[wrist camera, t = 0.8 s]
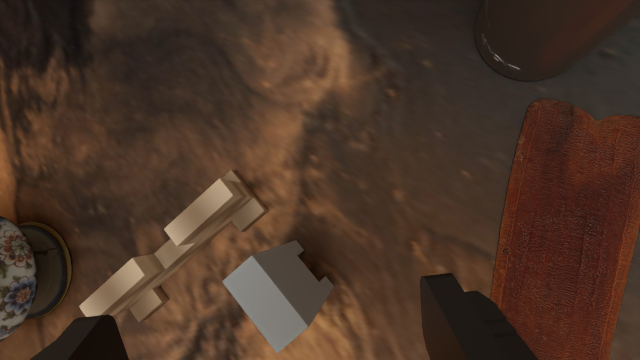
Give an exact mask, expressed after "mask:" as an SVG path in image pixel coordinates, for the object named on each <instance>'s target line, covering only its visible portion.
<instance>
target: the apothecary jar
mask: <svg viewBox="0 0 640 360" xmlns="http://www.w3.org/2000/svg"><path fill="white" fill-rule="evenodd" d="M71 274H72V265H71V257H70V253H69V250H68V248H67V245H66V243H65V242H64V240H63V239H62V237H61V236H60V235H59V234H58V233H57V232H56V231H55V230H53V229H52V228H51V227H49V226H47V225H45V224H42V223H37V222H26V223H22V224H19V225H16V224H14V223H13V222H11V221H10V220H8V219H6V218H4V217H1V216H0V342H1V341H3V340H4V339H6V338H7V337H8V336H9V335H11V334H12V333H13V332H14V331H15V330H16V329H17V328H18V327H19V326H20V325H21V324H22V322H23V321H24V319H36V318H40V317H43V316H45V315H47V314H49V313H50V312H51V311H53V310H54V309H55V308H56V307H57V306H58V305H59V304H60V303H61V301H62V300H63V298H64V296H65V295H66V293H67V290H68V288H69V284H70V281H71Z"/></svg>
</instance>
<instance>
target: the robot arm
mask: <svg viewBox="0 0 640 360" xmlns="http://www.w3.org/2000/svg"><path fill="white" fill-rule="evenodd" d="M639 14H640V0H485V1H484V3H483V5H482V7H481V9H480V12H479V14H478V16H477V20H476V24H475V40H476V44H477V48H478V50H479V52H480V54H481V56H482V58H483V59H484V60H485V61H486V62H487V64H488V65H489V66H490V67H492V68H493V69H494V70H495V71H497V72H498V73H500V74H502V75H504V76H506V77H508V78H512V79H516V80H520V81H537V80H544V79H547V78H550V77H553V76H556V75H558V74H559V73H561V72H563V71H565V70H566V69H568V68H569V67H570V66H572V65H573V64H574V63H576V62H577V61H578V60H579V59H581V58H582V57H583V56H585V55H586V54H587V53H589V52H590V51H592V50H593V49H594V48H595V47H597V46H598V45H599V44H601V43H602V42H603V41H605V40H606V39H607V38H609V37H610V36H611V35H612V34H614V33H615V32H616V31H618V30H619V29H620V28H622V27H623V26H624V25H626V24H627V23H628V22H630V21H631V20H632V19H633V18H635V17H636V16H637V15H639ZM420 289H421V311H422V329H423V336H424V341H425V345H426V348H427V351H428V354H429V357H430V359H431V360H538V358H537V357H536V356H535V355H534V353H533V352H532V351H531V349H530V348H529V347H528V345H527V344H526V343H525V341H524V340H523V339H522V337H521V336H520V335H518V334H517V331H516V330H515V328H514V327H513V326H512V324H511V323H510V322H509V321H507V318H506V316H505V315H504V314H503V312H502V311H501V310H500V309H499V307H498V306H497V305H496V303H495V302H493V301H492V300H490V299H489V298H487V297H486V296H484V295H483V294H481V293H480V292H478V291H470V292H464V291H463V289H462V288H461V286H460V285H459V283H458V282H457V280H456V279H455V277H454V276H453V274H451V273H447V274H439V275H430V276H422V277H421V280H420ZM30 360H129V358H128V356H127V353H126V350H125V347H124V344H123V341H122V338H121V336H120V333H119V330H118V327H117V324H116V322H115V319H114V318H113V317H112V316H111V315H108V314H107V315H99V316H90V317H82V318H77V319H75V320H74V321H73V322H72V323H71V324H70V325H69V326H68V327H67V328H66V330H65V331H64V332H63V333H62V334H61V335H60V336H59V337H58V339H57V340H56V341H54V342H53V343H52V344H50V345H49V346H47V347H46V348H45V349H43V350H42V351H41V352H39V353H38V354H37V355H35V356H34V357H33V358H31V359H30Z"/></svg>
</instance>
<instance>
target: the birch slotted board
mask: <svg viewBox="0 0 640 360" xmlns="http://www.w3.org/2000/svg"><path fill="white" fill-rule="evenodd" d="M267 211H268V210H267V208H266V207H265V206H264V205H263V204H262V202H261V201H260V200H259V199H258V197H257V196H256V195H255V194H254V193H253V191H252V190H251V189H250V188H249V186H248V185H247V184H246V183H245V182H244V180H243V179H242V178H241V177H240V176H239V174H238V173H237V172H236V171H233V170H230V171H229V172H228V173H227V174H226V175H225V176H224V177H223V178H222V179H220V178H219V179H218V180H217V181H216V182H215V183H214V184H213V185H212V186H211V187H210V188H208V189H207V190H206V191H205V192H204V193H203V194H202V195H201V196H200V197H199V198H197V199H196V200H195V201H194V202H193V203H192V204H191V205H190V206H189V207H188V208H186V209H185V210H184V211H183V212H182V213H181V214H180V215H179V216H178V217H177V218H176V219H174V220H173V221H172V222H171V223H170V224H169V225H168V226H167V227H166V228H165V229H164V230H165V231H166V233H167V234H168V235H169V237H170V238H171V239H170V240H169V241H168V242H166V243H165V244H164V245H163V246H162V247H161V248H160V249H159V250H158V251H157V252H155V253H154V254H150V255H145V256H139V257H134V258H132V259H130V260H129V261H128V262H127V263H126V264H125V265H124V266H123V267H122V268H121V269H119V270H118V271H117V272H116V273H115V274H114V275H113V276H112V277H111V278H110V279H109V280H107V281H106V282H105V283H104V284H103V285H102V286H101V287H100V288H99V289H98V290H96V291H95V292H94V293H93V294H92V295H91V296H90V297H89V298H88V299H87V300H85V301H84V302H83V303H82V304H81V305H80V306H79V307H80V309H81V310H82V311H83V313H84V314H85V316H86V317H90V316H99V315H107V314H108V315H111V316H112V315H115V314H118V313H120V312H123V311H125V310H128V309H130V310H131V312H132V313H133V315H134V316H135V318H136V319H137V320H138V322H141V321H143V320H146V319H147V318H148V317H150V316H151V315H152V314H153V313H154V312H155V311H156V310H157V309H159V308H160V307H161V306H162V305H163V304H164V303H165V302H166V301H168V300H169V298H168V297H167V296H166V294H165V293H164V292H163V290H162V289H161V287H160V285H161V284H162V283H163V282H165V281H166V280H167V279H168V278H169V277H170V276H171V275H172V274H173V273H175V272H176V271H177V270H178V269H179V268H180V267H181V266H182V265H183V264H185V263H186V262H187V261H188V260H189V259H190V258H191V257H192V256H193V255H195V254H196V253H197V252H198V251H199V250H200V249H201V248H202V247H204V246H205V245H206V244H207V243H208V242H209V241H210V240H211V239H212V238H214V237H215V236H216V235H217V234H218V233H219V232H220V231H221V230H222V229H224V228H225V227H226V226H227V225H228V224H229V223H230V222H231V221H232V222H233V224H234V225H235V226H236V227H237V229H238V230H239V231H240V232H245V231H246V230H247V229H248V228H249V227H251V226H252V225H253V224H254V223H255V222H256V221H257V220H258V219H260V218H261V217H262V216H263V215H264V214H265V213H266V212H267Z"/></svg>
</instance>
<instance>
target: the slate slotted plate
mask: <svg viewBox="0 0 640 360" xmlns="http://www.w3.org/2000/svg"><path fill="white" fill-rule="evenodd" d="M303 251H304V249H303V248H302V247H301V246H300V244H299V243H298V242H297V241H296V240H295V241H292V242H289V243H286V244H283V245H280V246H277V247H275V248H272V249H269V250H266V251H263V252H260V253H257V254H254V255H252V256H251V257H249V258H248V259H247V260H246V261H245V262H244V263H243V264H242V265H240V266H239V267H238V268H237V269H236V270H235V271H234V272H232V273H231V274H230V275H229V276H228V277H227V278H226V279H225V280H223V281H222V282H223V283H224V285H225V286H226V287H227V289H228V290H229V291H230V293H231V294H232V295H233V297H234V298H235V299H236V301H237V302H238V303H239V304H240V306H241V307H242V308H243V310H244V311H245V312H246V314H247V315H248V316H249V318H250V319H251V320H252V321H253V323H254V324H255V325H256V327H257V328H258V329H259V331H260V332H261V333H262V335H263V336H264V337H265V339H266V340H267V341H268V342H269V344H270V345H271V346H272V348H273V349H274V350H275V352H276V353H279V352H280V351H281V350H282V349H283V348H284V347H286V346H287V345H288V344H289V343H290V342H292V341H293V340H294V339H295V338H296V337H297V336H299V335H300V334H301V333H302V332H303V331H304V330H306V329H307V328H308V327H309V325H310V324H311V322H312V321H313V319H314V318H315V316H316V314H317V313H318V311H319V310H320V308H321V306H322V305H323V303H324V302H325V300H326V299H327V297H328V295H329V294H330V292H331V291H332V289H333V287H334V286H333V284H332V283H331V282H330V281H329V280H328V278H327V277H326V276H325V277H324V278H322V279H321V280H320V281H318V280H317V279H316V278H315V277H314V275H313V274H312V273H311V272H310V270H309V269H308V268H307V267H306V266H305V264H304V263H303V262H302V261H301V259H300V258H299V257H298V255H299V254H300V253H302V252H303Z"/></svg>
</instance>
